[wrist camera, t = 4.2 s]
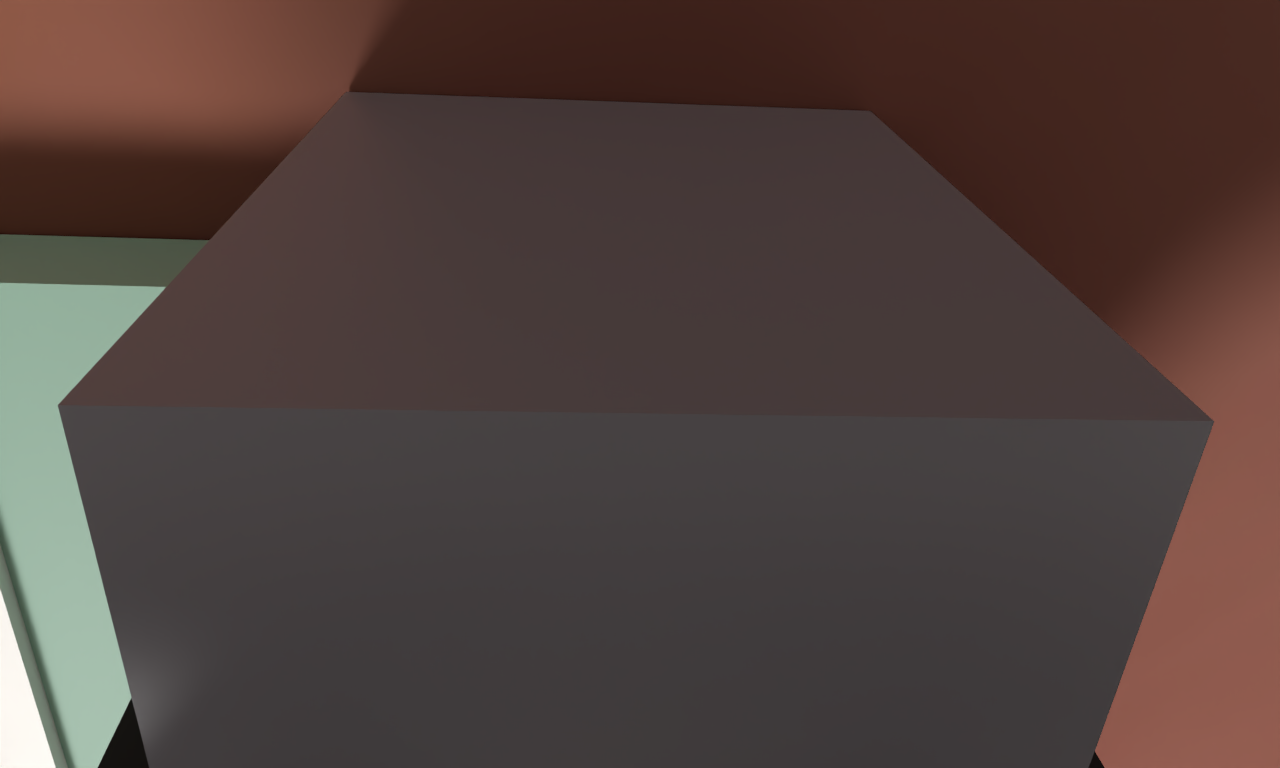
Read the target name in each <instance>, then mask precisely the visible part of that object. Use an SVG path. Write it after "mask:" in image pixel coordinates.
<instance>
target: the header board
mask: <svg viewBox="0 0 1280 768" xmlns="http://www.w3.org/2000/svg"><path fill="white" fill-rule="evenodd" d="M208 241H209V240H184V239H149V238H114V237H78V236H43V235H8V234H0V768H98V766H99V764H100V762H101V760H102V758H103V755H104V753H105V751H106V749H107V747H108V745H109V743H110V741H111V739H112V737H113V735H114V733H115V731H116V729H117V726H118V724H119V722H120V720H121V718H122V716H123V714H124V712H125V710H126V708H127V706H128V704H129V702H130V700H131V694H130V690H129V686H128V682H127V678H126V674H125V670H124V666H123V662H122V658H121V654H120V650H119V646H118V642H117V638H116V634H115V630H114V626H113V622H112V618H111V614H110V610H109V607H108V603H107V599H106V595H105V591H104V587H103V583H102V579H101V575H100V571H99V567H98V563H97V559H96V555H95V551H94V547H93V543H92V539H91V535H90V531H89V527H88V523H87V519H86V515H85V512H84V508H83V504H82V500H81V496H80V492H79V488H78V484H77V480H76V476H75V472H74V468H73V464H72V460H71V456H70V452H69V448H68V444H67V440H66V436H65V432H64V428H63V424H62V420H61V416H60V413H59V409H58V404H59V403H60V402H61V401H62V400H63V399H64V398H65V397H66V396H67V394H68V393H69V392H70V391H71V390H72V389H73V388H74V387H75V386H76V385H77V384H78V383H79V381H80V380H81V379H82V378H83V377H84V376H85V375H86V374H87V373H88V372H89V371H90V370H91V368H92V367H93V366H94V365H95V364H96V363H97V362H98V361H99V360H100V359H101V358H102V356H103V355H104V354H105V353H106V352H107V351H108V350H109V349H110V348H111V347H112V346H113V345H114V343H115V342H116V341H117V340H118V339H119V338H120V337H121V336H122V335H123V334H124V333H125V331H126V330H127V329H128V328H129V327H130V326H131V325H132V324H133V323H134V322H135V321H136V320H137V318H138V317H139V316H140V315H141V314H142V313H143V312H144V311H145V310H146V309H147V308H148V306H149V305H150V304H151V303H152V302H153V301H154V300H155V299H156V298H157V297H158V296H159V295H160V293H161V292H162V291H163V290H164V289H165V288H166V287H167V286H168V285H169V284H170V283H171V281H172V280H173V279H174V278H175V277H176V276H177V275H178V274H179V273H180V272H181V271H182V270H183V268H184V267H185V266H186V265H187V264H188V263H189V262H190V261H191V260H192V259H193V258H194V256H195V255H196V254H197V253H198V252H199V251H200V250H201V249H202V248H203V247H204V246H205V245H206V243H207V242H208Z"/></svg>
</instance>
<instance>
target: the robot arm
mask: <svg viewBox="0 0 1280 768" xmlns="http://www.w3.org/2000/svg"><path fill="white" fill-rule="evenodd" d="M98 768H149V765H148V761H147V757H146V753H145V749H144V745H143V741H142V737H141V733H140V729H139V725H138V721H137V717H136V713H135V709H134V706H133V702H132V698H131V700H130V702H129V704H128V706H127V708H126V710H125V712H124V714H123V716H122V718H121V720H120V722H119V724H118V726H117V729H116V731H115V733H114V735H113V737H112V739H111V741H110V743H109V745H108V747H107V749H106V751H105V753H104V755H103V758H102V760H101V762H100V764H99V766H98ZM1089 768H1104V766H1103V765H1102V763H1101V761H1100V760H1099V758H1098V756H1097V755H1096V753H1095V751H1094V754H1093V757H1092V760H1091V762H1090V765H1089Z"/></svg>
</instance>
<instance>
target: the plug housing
mask: <svg viewBox="0 0 1280 768" xmlns="http://www.w3.org/2000/svg"><path fill="white" fill-rule="evenodd" d="M58 409H59V413H60V416H61V420H62V424H63V428H64V432H65V436H66V440H67V444H68V448H69V452H70V456H71V460H72V464H73V468H74V472H75V476H76V480H77V484H78V488H79V492H80V496H81V500H82V504H83V508H84V512H85V515H86V519H87V523H88V527H89V531H90V535H91V539H92V543H93V547H94V551H95V555H96V559H97V563H98V567H99V571H100V575H101V579H102V583H103V587H104V591H105V595H106V599H107V603H108V607H109V610H110V614H111V618H112V622H113V626H114V630H115V634H116V638H117V642H118V646H119V650H120V654H121V658H122V662H123V666H124V670H125V674H126V678H127V682H128V686H129V690H130V694H131V698H132V702H133V706H134V709H135V713H136V717H137V721H138V725H139V729H140V733H141V737H142V741H143V745H144V749H145V753H146V757H147V761H148V765H149V768H1089V765H1090V762H1091V760H1092V757H1093V754H1094V751H1095V749H1096V746H1097V743H1098V740H1099V738H1100V735H1101V732H1102V729H1103V727H1104V724H1105V721H1106V718H1107V715H1108V713H1109V710H1110V707H1111V704H1112V702H1113V699H1114V696H1115V693H1116V691H1117V688H1118V685H1119V682H1120V680H1121V677H1122V674H1123V671H1124V669H1125V666H1126V663H1127V660H1128V658H1129V655H1130V652H1131V649H1132V647H1133V644H1134V641H1135V638H1136V635H1137V633H1138V630H1139V627H1140V624H1141V622H1142V619H1143V616H1144V613H1145V611H1146V608H1147V605H1148V602H1149V600H1150V597H1151V594H1152V591H1153V589H1154V586H1155V583H1156V580H1157V578H1158V575H1159V572H1160V569H1161V566H1162V564H1163V561H1164V558H1165V555H1166V553H1167V550H1168V547H1169V544H1170V542H1171V539H1172V536H1173V533H1174V531H1175V528H1176V525H1177V522H1178V520H1179V517H1180V514H1181V511H1182V509H1183V506H1184V503H1185V500H1186V498H1187V495H1188V492H1189V489H1190V486H1191V484H1192V481H1193V478H1194V475H1195V473H1196V470H1197V467H1198V464H1199V462H1200V459H1201V456H1202V453H1203V451H1204V448H1205V445H1206V442H1207V440H1208V437H1209V434H1210V431H1211V429H1212V426H1213V423H1214V421H1213V420H1212V419H1211V418H1210V417H1209V416H1208V415H1206V414H1205V413H1204V412H1203V411H1202V410H1201V409H1200V408H1199V407H1198V406H1196V405H1195V404H1194V403H1193V402H1192V401H1191V400H1190V399H1189V398H1188V397H1187V396H1185V395H1184V394H1183V393H1182V392H1181V391H1180V390H1179V389H1178V388H1177V387H1175V386H1174V385H1173V384H1172V383H1171V382H1170V381H1169V380H1168V379H1167V378H1165V377H1164V376H1163V375H1162V374H1161V373H1160V372H1159V371H1158V370H1157V369H1156V368H1154V367H1153V366H1152V365H1151V364H1150V363H1149V362H1148V361H1147V360H1146V359H1144V358H1143V357H1142V356H1141V355H1140V354H1139V353H1138V352H1137V351H1136V350H1135V349H1133V348H1132V347H1131V346H1130V345H1129V344H1128V343H1127V342H1126V341H1125V340H1123V339H1122V338H1121V337H1120V336H1119V335H1118V334H1117V333H1116V332H1115V331H1113V330H1112V329H1111V328H1110V327H1109V326H1108V325H1107V324H1106V323H1105V322H1104V321H1102V320H1101V319H1100V318H1099V317H1098V316H1097V315H1096V314H1095V313H1094V312H1092V311H1091V310H1090V309H1089V308H1088V307H1087V306H1086V305H1085V304H1084V303H1083V302H1081V301H1080V300H1079V299H1078V298H1077V297H1076V296H1075V295H1074V294H1073V293H1071V292H1070V291H1069V290H1068V289H1067V288H1066V287H1065V286H1064V285H1063V284H1061V283H1060V282H1059V281H1058V280H1057V279H1056V278H1055V277H1054V276H1053V275H1052V274H1050V273H1049V272H1048V271H1047V270H1046V269H1045V268H1044V267H1043V266H1042V265H1040V264H1039V263H1038V262H1037V261H1036V260H1035V259H1034V258H1033V257H1032V256H1030V255H1029V254H1028V253H1027V252H1026V251H1025V250H1024V249H1023V248H1022V247H1021V246H1019V245H1018V244H1017V243H1016V242H1015V241H1014V240H1013V239H1012V238H1011V237H1009V236H1008V235H1007V234H1006V233H1005V232H1004V231H1003V230H1002V229H1001V228H1000V227H998V226H997V225H996V224H995V223H994V222H993V221H992V220H991V219H990V218H988V217H987V216H986V215H985V214H984V213H983V212H982V211H981V210H980V209H978V208H977V207H976V206H975V205H974V204H973V203H972V202H971V201H970V200H969V199H967V198H966V197H965V196H964V195H963V194H962V193H961V192H960V191H959V190H957V189H956V188H955V187H954V186H953V185H952V184H951V183H950V182H949V181H947V180H946V179H945V178H944V177H943V176H942V175H941V174H940V173H939V172H938V171H936V170H935V169H934V168H933V167H932V166H931V165H930V164H929V163H928V162H926V161H925V160H924V159H923V158H922V157H921V156H920V155H919V154H918V153H917V152H915V151H914V150H913V149H912V148H911V147H910V146H909V145H908V144H907V143H905V142H904V141H903V140H902V139H901V138H900V137H899V136H898V135H897V134H895V133H894V132H893V131H892V130H891V129H890V128H889V127H888V126H887V125H886V124H884V123H883V122H882V121H881V120H880V119H879V118H878V117H877V116H876V115H874V114H873V113H872V112H871V111H860V110H832V109H805V108H777V107H750V106H723V105H695V104H668V103H640V102H613V101H586V100H558V99H531V98H503V97H476V96H448V95H421V94H394V93H366V92H345V93H344V95H343V96H342V97H341V98H340V99H339V100H338V101H337V102H336V103H335V104H334V105H333V107H332V108H331V109H330V110H329V111H328V112H327V113H326V114H325V115H324V116H323V117H322V118H321V120H320V121H319V122H318V123H317V124H316V125H315V126H314V127H313V128H312V129H311V130H310V132H309V133H308V134H307V135H306V136H305V137H304V138H303V139H302V140H301V141H300V142H299V143H298V145H297V146H296V147H295V148H294V149H293V150H292V151H291V152H290V153H289V154H288V155H287V157H286V158H285V159H284V160H283V161H282V162H281V163H280V164H279V165H278V166H277V167H276V168H275V170H274V171H273V172H272V173H271V174H270V175H269V176H268V177H267V178H266V179H265V180H264V182H263V183H262V184H261V185H260V186H259V187H258V188H257V189H256V190H255V191H254V192H253V193H252V195H251V196H250V197H249V198H248V199H247V200H246V201H245V202H244V203H243V204H242V205H241V207H240V208H239V209H238V210H237V211H236V212H235V213H234V214H233V215H232V216H231V217H230V218H229V220H228V221H227V222H226V223H225V224H224V225H223V226H222V227H221V228H220V229H219V230H218V231H217V233H216V234H215V235H214V236H213V237H212V238H211V239H210V240H209V241H208V242H207V243H206V245H205V246H204V247H203V248H202V249H201V250H200V251H199V252H198V253H197V254H196V255H195V256H194V258H193V259H192V260H191V261H190V262H189V263H188V264H187V265H186V266H185V267H184V268H183V270H182V271H181V272H180V273H179V274H178V275H177V276H176V277H175V278H174V279H173V280H172V281H171V283H170V284H169V285H168V286H167V287H166V288H165V289H164V290H163V291H162V292H161V293H160V295H159V296H158V297H157V298H156V299H155V300H154V301H153V302H152V303H151V304H150V305H149V306H148V308H147V309H146V310H145V311H144V312H143V313H142V314H141V315H140V316H139V317H138V318H137V320H136V321H135V322H134V323H133V324H132V325H131V326H130V327H129V328H128V329H127V330H126V331H125V333H124V334H123V335H122V336H121V337H120V338H119V339H118V340H117V341H116V342H115V343H114V345H113V346H112V347H111V348H110V349H109V350H108V351H107V352H106V353H105V354H104V355H103V356H102V358H101V359H100V360H99V361H98V362H97V363H96V364H95V365H94V366H93V367H92V368H91V370H90V371H89V372H88V373H87V374H86V375H85V376H84V377H83V378H82V379H81V380H80V381H79V383H78V384H77V385H76V386H75V387H74V388H73V389H72V390H71V391H70V392H69V393H68V394H67V396H66V397H65V398H64V399H63V400H62V401H61V402H60V403H59V404H58Z"/></svg>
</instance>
